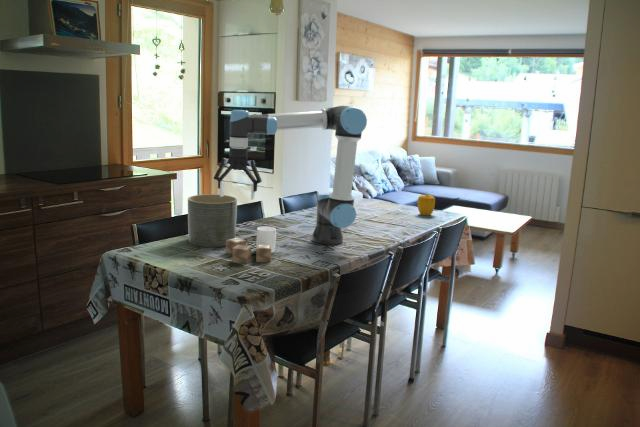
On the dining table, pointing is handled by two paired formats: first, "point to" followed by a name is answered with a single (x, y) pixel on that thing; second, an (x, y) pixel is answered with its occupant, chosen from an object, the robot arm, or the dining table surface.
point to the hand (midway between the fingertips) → (237, 197)
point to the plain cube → (241, 254)
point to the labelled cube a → (233, 244)
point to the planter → (211, 219)
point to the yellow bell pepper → (426, 204)
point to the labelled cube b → (263, 253)
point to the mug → (266, 237)
